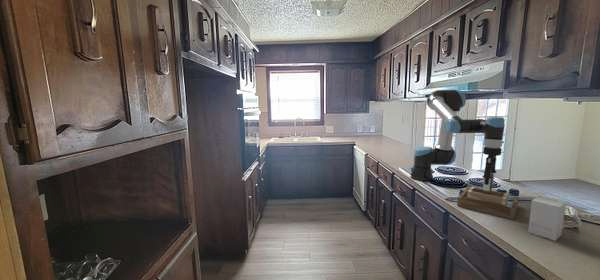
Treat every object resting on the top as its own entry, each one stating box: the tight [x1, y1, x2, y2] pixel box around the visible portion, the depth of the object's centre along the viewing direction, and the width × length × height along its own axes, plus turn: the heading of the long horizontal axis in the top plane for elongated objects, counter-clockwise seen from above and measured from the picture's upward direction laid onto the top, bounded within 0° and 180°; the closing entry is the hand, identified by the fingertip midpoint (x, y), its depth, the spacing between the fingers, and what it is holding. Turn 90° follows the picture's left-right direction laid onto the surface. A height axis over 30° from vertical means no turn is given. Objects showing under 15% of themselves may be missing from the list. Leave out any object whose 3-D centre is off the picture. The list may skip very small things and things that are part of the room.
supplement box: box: [527, 196, 567, 242], centre depth 110 cm, size 9×9×15 cm
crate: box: [467, 174, 509, 206], centre depth 135 cm, size 10×16×17 cm, turn 46°
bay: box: [456, 187, 519, 220], centre depth 140 cm, size 22×24×6 cm
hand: (488, 187), depth 135 cm, fingers open, 12 cm apart
